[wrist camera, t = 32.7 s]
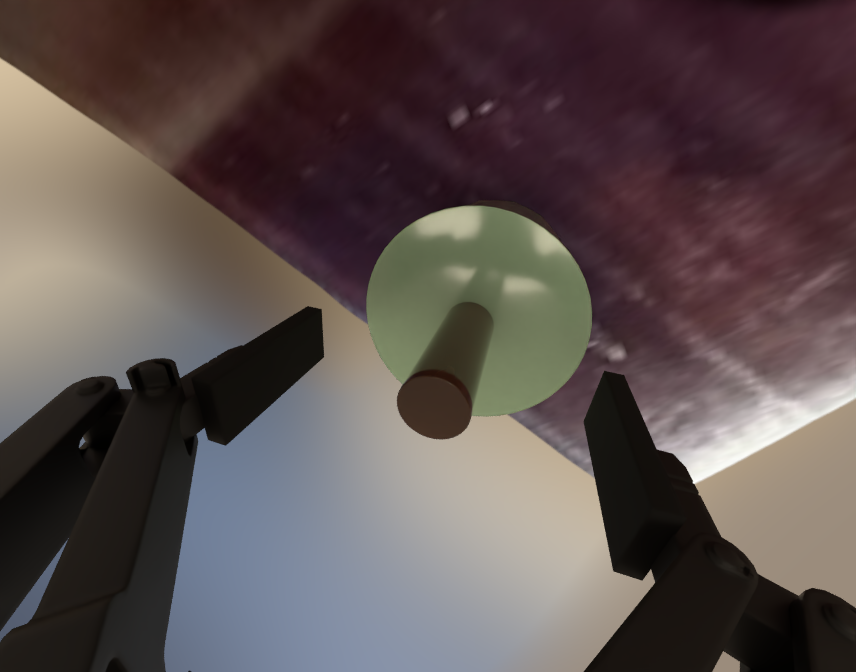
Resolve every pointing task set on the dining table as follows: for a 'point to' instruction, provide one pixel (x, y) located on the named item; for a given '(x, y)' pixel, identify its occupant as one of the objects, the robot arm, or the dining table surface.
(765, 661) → the robot arm
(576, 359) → the lid
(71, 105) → the dining table surface
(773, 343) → the dining table surface
